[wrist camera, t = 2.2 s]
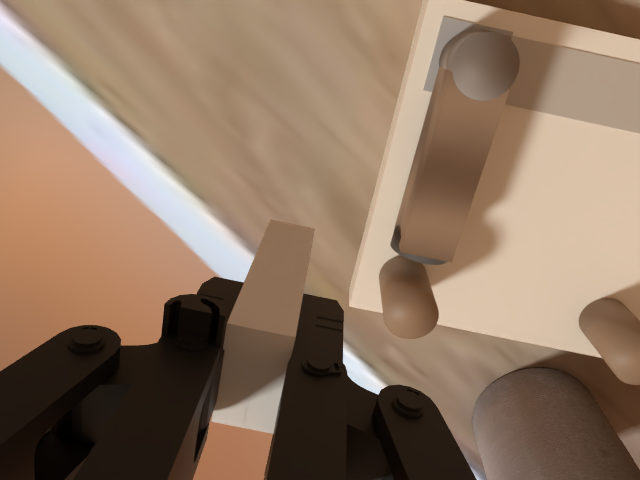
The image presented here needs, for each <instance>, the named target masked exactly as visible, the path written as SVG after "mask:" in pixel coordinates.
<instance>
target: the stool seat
mask: <svg viewBox="0 0 640 480" xmlns="http://www.w3.org/2000/svg"><path fill="white" fill-rule="evenodd" d="M468 31H479V32H498V33H501V34H503V35H505V36H507V37H508V38H509V39H510V40H512V42H513V43H514V44H515V46H516V48H517V50H518V53H519V58H520V66H519V72H518V75H517V77H516V79H515V81H514V83H513V84H512V86H511V87H510V90H509V93H508V96H507V99H506V102H505V105H504V108H503V111H502V114H501V117H500V120H499V123H498V126H497V129H496V132H495V135H494V138H493V141H492V144H491V147H490V150H489V153H488V156H487V159H486V162H485V165H484V168H483V171H482V174H481V177H480V180H479V183H478V186H477V189H476V192H475V195H474V198H473V201H472V204H471V207H470V210H469V213H468V216H467V219H466V221H465V224H464V227H463V230H462V233H461V236H460V239H459V242H458V245H457V248H456V251H455V254H454V257H453V260H452V263H451V262H447V263H445V264H441V265H429V264H423V263H419V262H415V261H412V260H410V259H407V258H405V257H403V256H401V255H399V254H398V253H396V252H395V251H394V250H393V249H392V248H391V245H390V243H391V240H392V236H393V232H394V229H395V224H396V220H397V216H398V213H399V209H400V206H401V202H402V198H403V195H404V191H405V188H406V184H407V181H408V177H409V173H410V170H411V166H412V163H413V159H414V155H415V152H416V148H417V145H418V141H419V138H420V134H421V130H422V127H423V123H424V120H425V116H426V112H427V109H428V105H429V102H430V98H431V95H432V91H433V87H434V84H435V80H436V77H437V73H438V69H439V59H440V55H441V52H442V50H443V48H444V46H445V45H446V44H447V42H448V41H449V40H450V39H452V38H453V37H454V36H456V35H458V34H460V33H463V32H468ZM349 306H350V307H355V308H360V309H365V310H370V311H375V312H379V313H383V318H384V323H385V325H386V327H387V328H388V330H389V331H390V332H391V333H393V334H394V335H396V336H398V337H400V338H404V339H416V338H420V337H423V336H425V335H427V334H428V333H429V332H431V331H432V330H433V329H434V327H435V326H436V324H438V325H443V326H448V327H453V328H458V329H463V330H468V331H472V332H477V333H482V334H487V335H492V336H497V337H502V338H507V339H512V340H516V341H521V342H526V343H531V344H536V345H541V346H546V347H551V348H556V349H560V350H565V351H570V352H575V353H580V354H585V355H590V356H595V357H600V358H603V359H604V361H605V362H606V363H607V365H608V366H609V367H610V368H611V370H612V371H613V372H614V374H615V375H616V376H617V377H618V378H619V379H620V380H621V381H623V382H624V383H627V384H631V385H640V40H639V39H635V38H630V37H626V36H621V35H617V34H613V33H608V32H604V31H599V30H595V29H590V28H586V27H581V26H577V25H572V24H568V23H563V22H559V21H554V20H550V19H545V18H541V17H536V16H532V15H527V14H523V13H518V12H514V11H509V10H505V9H500V8H496V7H492V6H487V5H483V4H478V3H474V2H469V1H465V0H423V2H422V6H421V10H420V14H419V18H418V22H417V26H416V30H415V34H414V38H413V41H412V45H411V49H410V53H409V57H408V61H407V65H406V69H405V73H404V77H403V81H402V85H401V89H400V92H399V96H398V100H397V104H396V108H395V112H394V116H393V120H392V124H391V128H390V132H389V136H388V140H387V143H386V147H385V151H384V155H383V159H382V163H381V167H380V171H379V175H378V179H377V183H376V187H375V191H374V194H373V198H372V202H371V206H370V210H369V214H368V218H367V222H366V226H365V230H364V234H363V238H362V242H361V245H360V249H359V253H358V257H357V261H356V265H355V269H354V273H353V277H352V281H351V285H350V289H349Z"/></svg>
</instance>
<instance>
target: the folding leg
mask: <svg viewBox="0 0 640 480" xmlns="http://www.w3.org/2000/svg"><path fill="white" fill-rule="evenodd" d="M519 66H520V58H519V53H518V50H517V48H516V46H515V44H514V43H513V42H512V40H510V39H509V38H508V37H507V36H505V35H503V34H501V33H498V32H479V31H468V32H463V33H460V34H458V35H456V36H454V37H453V38H452V39H450V40H449V41H448V42H447V44H446V45H445V46H444V48H443V50H442V52H441V55H440V59H439V69H438V73H437V77H436V80H435V84H434V87H433V91H432V95H431V98H430V102H429V105H428V109H427V112H426V116H425V120H424V123H423V127H422V130H421V134H420V138H419V141H418V145H417V148H416V152H415V155H414V159H413V163H412V166H411V170H410V173H409V177H408V181H407V184H406V188H405V191H404V195H403V198H402V202H401V206H400V209H399V213H398V216H397V220H396V224H395V229H394V232H393V236H392V240H391V243H390V245H391V248H392V249H393V250H394V251H395V252H396V253H398V254H399V255H401V256H403V257H405V258H407V259H410V260H412V261H415V262H419V263H423V264H429V265H441V264H445V263H447V262H451V263H452V260H453V257H454V254H455V251H456V248H457V245H458V242H459V239H460V236H461V233H462V230H463V227H464V224H465V221H466V219H467V216H468V213H469V210H470V207H471V204H472V201H473V198H474V195H475V192H476V189H477V186H478V183H479V180H480V177H481V174H482V171H483V168H484V165H485V162H486V159H487V156H488V153H489V150H490V147H491V144H492V141H493V138H494V135H495V132H496V129H497V126H498V123H499V120H500V117H501V114H502V111H503V108H504V105H505V102H506V99H507V96H508V93H509V90H510V87H511V86H512V84H513V83H514V81H515V79H516V77H517V75H518V72H519Z"/></svg>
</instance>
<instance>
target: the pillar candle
mask: <svg viewBox="0 0 640 480" xmlns="http://www.w3.org/2000/svg"><path fill="white" fill-rule="evenodd" d="M473 431H474V436H475V439H476V441H477V445H478V449H479V452H480V456H481V458H482V462H483V465H484V469H485V472H486V477H487V479H488V480H640V470H639V468H638V467H637V465H636V463H635V462H634V460H633V458H632V457H631V455H630V453H629V452H628V450H627V449H626V447H625V446H624V444H623V443H622V441H621V440H620V438H619V437H618V435H617V434H616V432H615V430H614V429H613V428H612V426H611V424H610V423H609V421H608V420H607V418H606V417H605V415H604V413H603V412H602V411H601V409H600V407H599V406H598V404H597V403H596V401H595V400H594V398H593V397H592V395H591V394H590V392H589V391H588V389H587V388H586V387H585V386H584V385H583V384H582V383H581V382H580V381H579V380H577V379H576V378H574V377H572V376H571V375H569V374H567V373H565V372H562V371H559V370H555V369H551V368H529V369H523V370H519V371H515V372H512V373H509V374H507V375H505V376H503V377H501V378H499V379H497V380H496V381H495V382H493V383H491V384H490V385H489V386H488V387H487V388H486V389H485V390H484V391H483V392H482V393H481V395H480V396H479V398H478V400H477V402H476V405H475V409H474V414H473Z"/></svg>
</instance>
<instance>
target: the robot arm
mask: <svg viewBox="0 0 640 480" xmlns="http://www.w3.org/2000/svg"><path fill="white" fill-rule="evenodd" d="M314 230H315V229H313V228H309V227H304V226H299V225H294V224H290V223H285V222H280V221H275V220H270V222H269V225H268V227H267V229H266V232H265V234H264V237H263V239H262V241H261V244H260V246H259V248H258V251H257V253H256V256H255V258H254V260H253V263H252V265H251V267H250V270H249V272H248V274H247V277H246V279H245V282H244V283H243V282H238V281H233V280H228V279H223V278H218V277H213V278H211V279H210V280H208V281H206V282H204V283H203V284H202V285H201V287H200V289H199V290H198V292H197V295H195V294H188V295H179V296H177V297H174V298H171V299H170V300H168V301H167V302H166V303H165V305H164V315H163V326H162V336H161V338H160V339H159V341H158V342H157V343H154V344H149V345H139V346H120V345H121V339H120V337H119V336H118V334H117V333H116V332H114V331H112V330H111V329H109V328H106V327H102V326H97V325H82V326H77V327H73V328H70V329H67V330H65V331H63V332H61V333H59V334H57V335H56V336H55V337H53V338H51V339H50V340H48V341H47V342H45V343H44V344H42V345H40V346H39V347H37V348H36V349H34V350H33V351H31V352H30V353H28V354H27V355H25V356H23V357H22V358H20V359H19V360H17V361H16V362H14V363H13V364H11V365H9V366H8V367H6V368H5V369H3V370H2V371H0V480H193V477H194V474H195V471H196V468H197V465H198V462H199V459H200V457H201V454H202V451H203V448H204V445H205V442H206V439H207V434H208V426H209V421H210V418H211V416H212V413H213V417H212V422H217V423H221V424H227V425H232V426H237V427H242V428H247V429H252V430H257V431H262V432H267V433H272V434H273V438H272V442H271V447H270V452H269V456H268V461H267V465H266V470H265V477H264V480H477V479H476V478H475V476H474V474H473V472H472V470H471V468H470V467H469V465H468V463H467V461H466V459H465V457H464V455H463V454H462V452H461V450H460V448H459V446H458V444H457V443H456V441H455V439H454V437H453V435H452V433H451V432H450V430H449V428H448V426H447V424H446V422H445V421H444V419H443V417H442V415H441V413H440V411H439V410H438V408H437V406H436V405H435V404H434V402H433V401H432V400H431V399H430V398H429V397H428V396H426V395H425V394H424V393H422V392H421V391H418V390H416V389H414V388H411V387H408V386H402V385H392V386H387V387H385V388H384V389H382V390H381V391H380V393H379V395H377V394H375V393H373V392H370V391H368V390H366V389H364V388H362V387H360V386H358V385H357V384H356V383H355V382H353V381H352V380H351V379H350V378H349V377H348V376H347V370H346V367H345V365H344V364H343V321H344V311H343V309H342V308H341V306H340V305H339V303H338V302H337V300H332V299H327V298H322V297H317V296H312V295H308V294H303V292H304V287H305V281H306V275H307V270H308V264H309V259H310V253H311V247H312V242H313V236H314Z"/></svg>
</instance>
